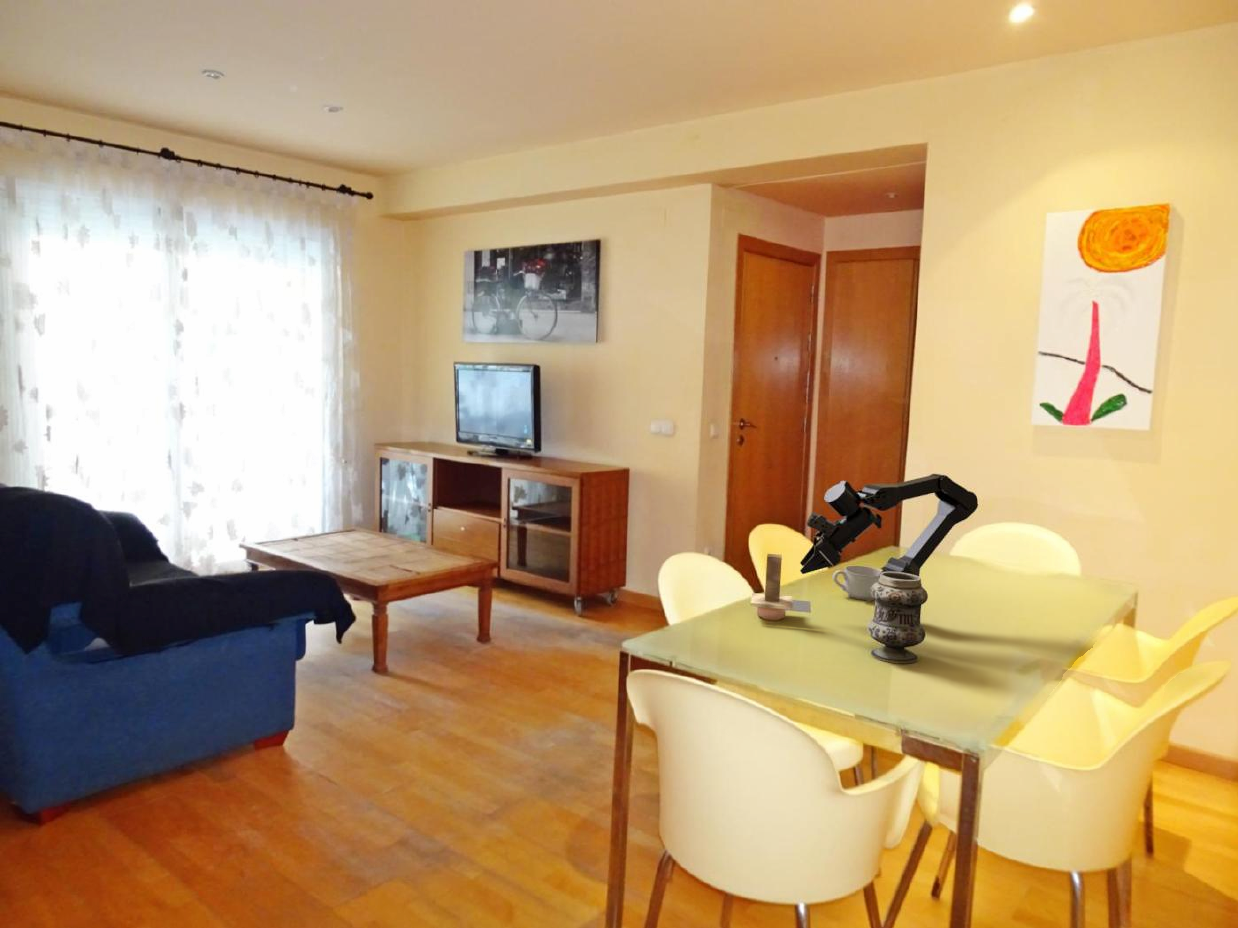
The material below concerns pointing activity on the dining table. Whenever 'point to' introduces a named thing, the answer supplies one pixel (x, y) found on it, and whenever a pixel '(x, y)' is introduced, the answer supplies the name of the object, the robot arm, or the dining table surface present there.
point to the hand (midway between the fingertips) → (801, 568)
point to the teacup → (858, 581)
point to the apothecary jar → (897, 616)
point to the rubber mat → (801, 606)
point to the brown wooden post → (772, 587)
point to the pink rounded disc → (771, 613)
